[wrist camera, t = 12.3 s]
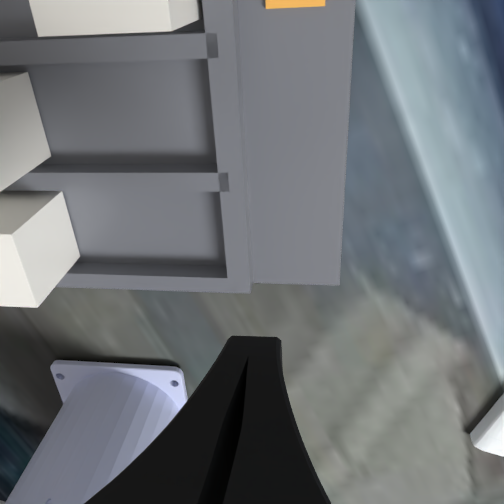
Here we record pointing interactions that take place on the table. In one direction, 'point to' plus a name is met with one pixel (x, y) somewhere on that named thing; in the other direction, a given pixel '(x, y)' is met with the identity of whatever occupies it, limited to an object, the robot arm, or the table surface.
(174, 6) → the white block
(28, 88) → the white block
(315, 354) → the table surface
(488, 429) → the external hard drive
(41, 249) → the white block
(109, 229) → the switch bank
